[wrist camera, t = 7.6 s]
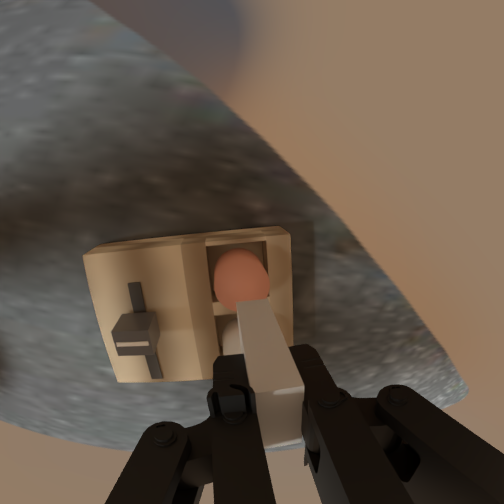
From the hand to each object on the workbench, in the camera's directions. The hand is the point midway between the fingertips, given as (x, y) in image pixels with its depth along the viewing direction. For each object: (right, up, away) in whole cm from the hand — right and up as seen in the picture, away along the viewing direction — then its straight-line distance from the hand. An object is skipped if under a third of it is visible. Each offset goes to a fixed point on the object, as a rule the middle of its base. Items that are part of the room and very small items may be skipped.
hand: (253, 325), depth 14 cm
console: (-5, -1, +12) cm, 13 cm away
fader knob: (-9, -2, +7) cm, 12 cm away
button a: (-1, +2, +8) cm, 8 cm away
